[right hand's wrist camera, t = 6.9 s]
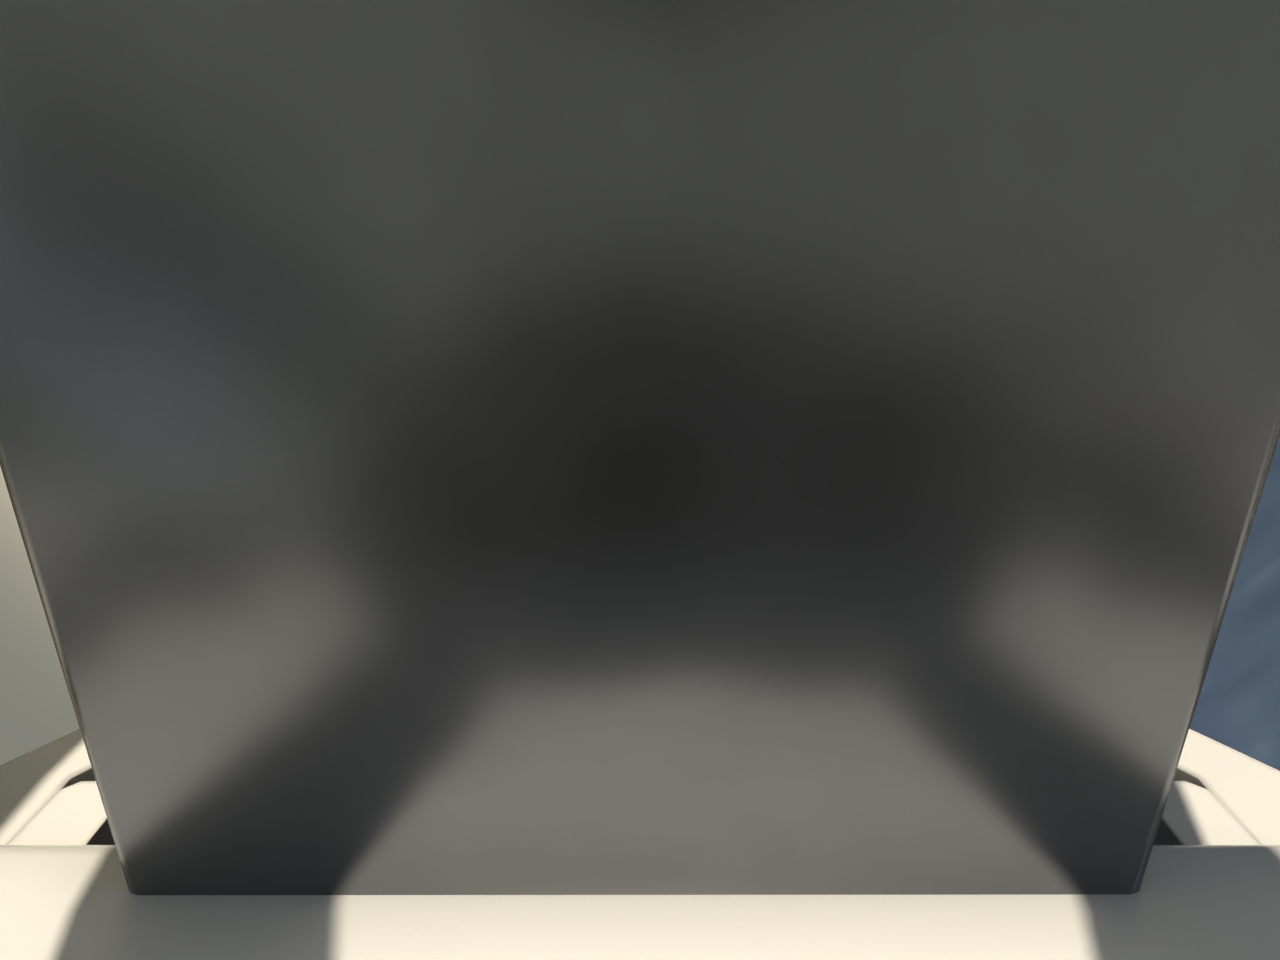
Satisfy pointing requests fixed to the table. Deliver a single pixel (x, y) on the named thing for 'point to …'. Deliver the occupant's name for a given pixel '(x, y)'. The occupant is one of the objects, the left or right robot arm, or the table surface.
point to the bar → (637, 430)
